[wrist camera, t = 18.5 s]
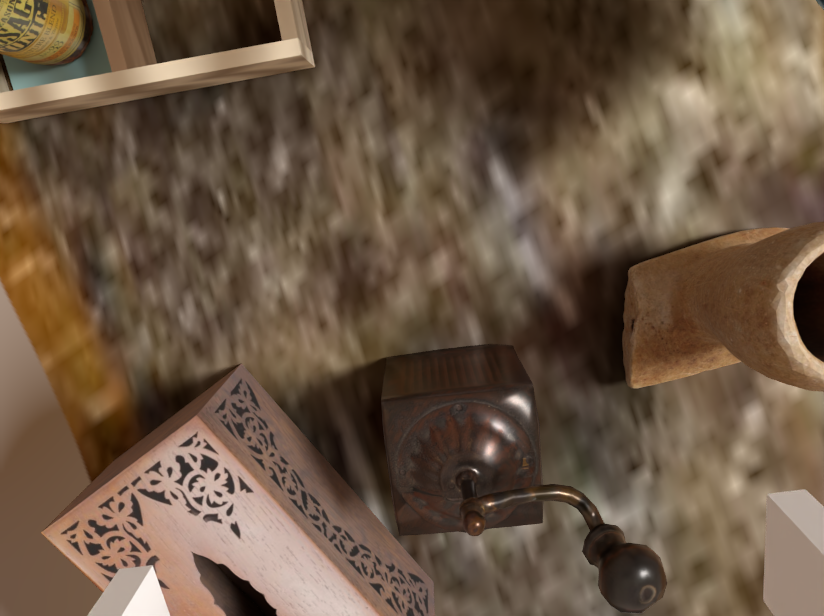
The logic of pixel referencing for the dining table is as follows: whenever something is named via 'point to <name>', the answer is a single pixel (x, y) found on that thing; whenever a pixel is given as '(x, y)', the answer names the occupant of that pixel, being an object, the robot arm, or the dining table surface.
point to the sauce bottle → (45, 30)
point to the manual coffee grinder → (489, 462)
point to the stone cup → (730, 308)
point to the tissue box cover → (239, 519)
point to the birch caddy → (142, 64)
